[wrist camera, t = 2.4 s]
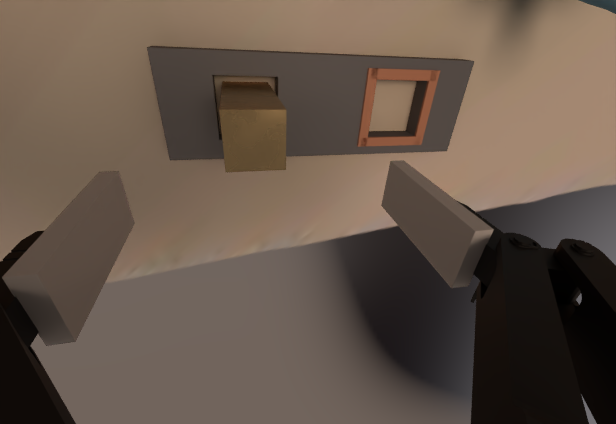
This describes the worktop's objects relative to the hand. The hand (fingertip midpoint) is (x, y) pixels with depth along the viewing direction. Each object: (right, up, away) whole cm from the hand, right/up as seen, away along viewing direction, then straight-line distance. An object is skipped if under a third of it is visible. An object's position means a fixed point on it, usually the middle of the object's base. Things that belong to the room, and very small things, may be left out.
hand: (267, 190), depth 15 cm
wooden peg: (-4, +10, +16) cm, 19 cm away
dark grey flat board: (+4, +11, +17) cm, 21 cm away
